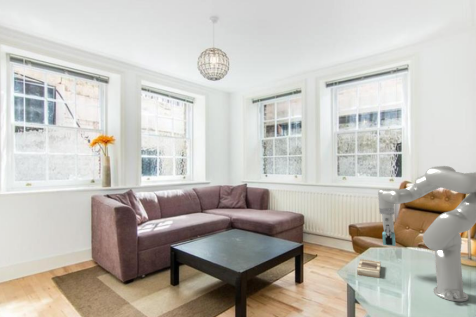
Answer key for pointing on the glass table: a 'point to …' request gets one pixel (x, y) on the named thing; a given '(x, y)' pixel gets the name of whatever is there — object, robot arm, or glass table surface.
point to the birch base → (369, 268)
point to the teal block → (391, 237)
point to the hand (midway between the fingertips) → (389, 242)
